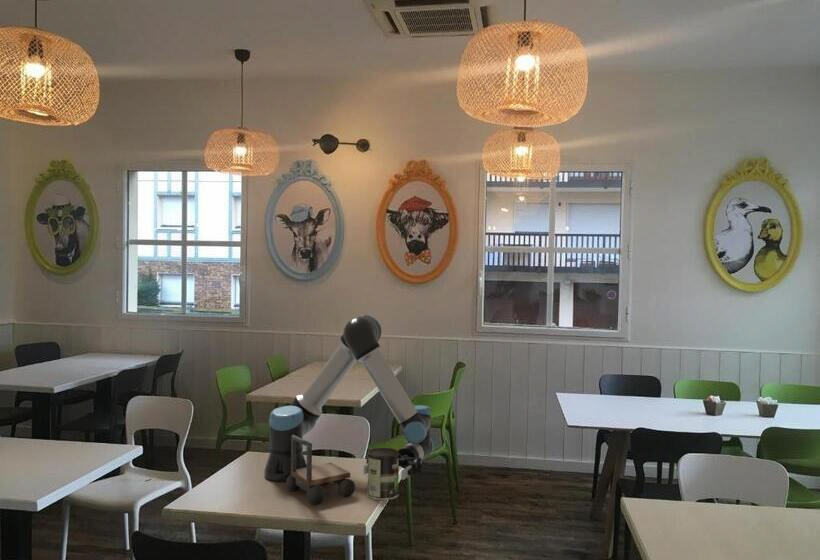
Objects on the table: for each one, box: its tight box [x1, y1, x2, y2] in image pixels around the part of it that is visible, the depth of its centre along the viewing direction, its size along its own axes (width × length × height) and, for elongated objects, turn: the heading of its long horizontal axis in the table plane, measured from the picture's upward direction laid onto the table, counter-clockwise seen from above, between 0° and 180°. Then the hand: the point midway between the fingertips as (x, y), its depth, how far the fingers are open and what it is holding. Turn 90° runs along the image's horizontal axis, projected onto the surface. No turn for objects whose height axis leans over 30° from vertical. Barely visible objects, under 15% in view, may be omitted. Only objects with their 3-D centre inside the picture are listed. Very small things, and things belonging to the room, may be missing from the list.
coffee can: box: [367, 447, 400, 501], centre depth 207 cm, size 10×10×14 cm
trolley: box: [285, 435, 356, 505], centre depth 209 cm, size 17×17×19 cm
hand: (383, 472), depth 206 cm, fingers open, 13 cm apart
